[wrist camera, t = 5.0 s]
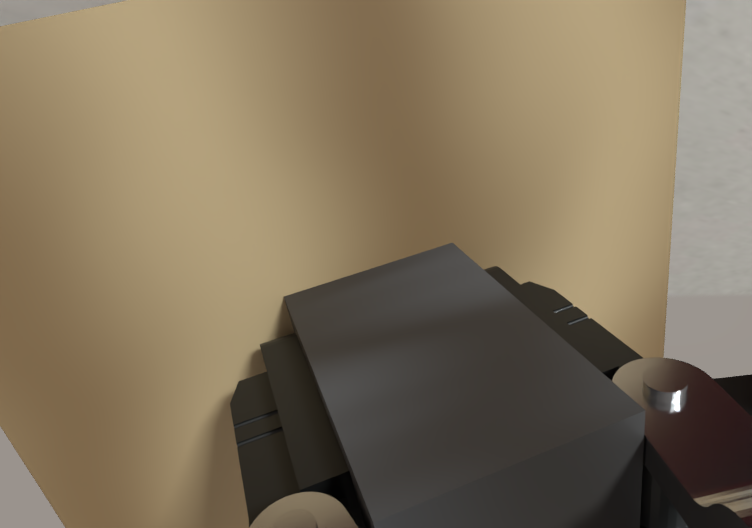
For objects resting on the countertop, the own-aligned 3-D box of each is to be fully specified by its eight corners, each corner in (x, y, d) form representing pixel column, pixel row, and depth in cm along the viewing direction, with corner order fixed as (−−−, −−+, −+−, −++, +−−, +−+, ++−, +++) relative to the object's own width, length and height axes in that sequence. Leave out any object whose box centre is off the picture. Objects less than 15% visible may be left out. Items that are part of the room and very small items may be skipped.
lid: (161, 602, 14) (159, 1016, 9) (-156, 57, 8) (-879, 213, 3) (611, 417, 17) (846, 640, 11) (619, -101, 11) (1136, -204, 5)
